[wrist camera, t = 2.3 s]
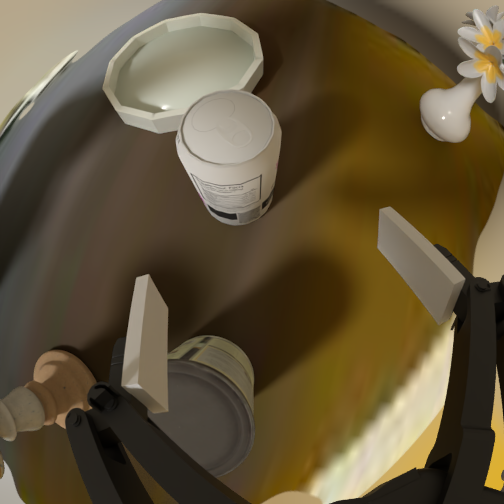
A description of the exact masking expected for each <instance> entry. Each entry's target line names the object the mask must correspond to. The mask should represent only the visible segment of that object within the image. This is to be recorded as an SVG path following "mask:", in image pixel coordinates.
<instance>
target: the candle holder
mask: <svg viewBox="0 0 504 504" xmlns="http://www.w3.org/2000/svg"><path fill="white" fill-rule="evenodd" d="M96 383H97V382H96V380H95V378H94V376H93V374H92V373H91V371H90V370H89V369H88V367H87V366H86V365H85V364H84V363H83V362H82V361H81V360H80V359H79V358H77V357H76V356H74V355H73V354H71V353H69V352H67V351H63V350H50V351H48V352H46V353H44V354H43V355H42V356H41V357H40V358H39V359H38V361H37V363H36V366H35V370H34V381H30V382H28V383H27V384H26V385H25V387H16V388H14V389H13V390H12V391H11V392H10V393H9V394H8V395H7V396H6V397H5V398H3V399H1V400H0V438H3V439H5V440H7V441H13V440H14V439H15V438H16V435H17V432H21V431H36V430H39V429H41V428H42V426H43V425H51V424H53V423H55V422H56V423H57V424H59V425H60V426H62V427H63V428H65V429H66V427H65V418H66V415H67V414H68V412H69V411H70V410H71V409H73V408H81V409H82V410H84V411H87V410H90V409H92V407H91V406H90V405H89V404H88V401H87V394H88V392H89V389H90V388H91V387H92V386H93V385H94V384H96ZM3 474H4V462H3V457H2V454H1V451H0V479H1V478H2V477H3Z"/></svg>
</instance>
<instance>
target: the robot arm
mask: <svg viewBox="0 0 504 504" xmlns="http://www.w3.org/2000/svg"><path fill="white" fill-rule="evenodd" d="M377 248H378V249H379V250H380V251H381V253H382V254H383V255H384V256H385V257H386V259H387V260H388V261H389V262H390V263H391V264H392V266H393V267H394V268H395V269H396V270H397V272H398V273H399V274H400V275H401V277H402V278H403V279H404V280H405V282H406V283H407V284H408V285H409V287H410V288H411V289H412V290H413V292H414V293H415V294H416V295H417V297H418V298H419V299H420V301H421V302H422V303H423V305H424V306H425V307H426V309H427V310H428V311H429V313H430V314H431V315H432V317H433V318H434V319H435V321H436V322H437V323H438V325H440V324H442V323H444V322H446V321H447V320H449V319H450V317H451V315H452V313H453V311H454V313H455V314H456V315H457V316H456V318H455V320H454V323H453V325H452V327H451V330H453V328H454V326H455V329H454V342H453V353H452V361H451V369H450V376H449V383H448V389H447V394H446V400H445V405H444V410H443V415H442V419H441V423H440V428H439V432H438V435H437V439H436V442H435V445H434V447H433V449H432V450H431V452H430V454H429V456H428V459H427V462H426V464H425V467H424V468H423V469H416V468H414V469H412V470H410V471H408V472H406V473H404V474H402V475H400V476H398V477H396V478H394V479H392V480H390V481H388V482H385V483H383V484H381V485H379V486H378V487H376V488H375V489H373V490H372V491H371V492H369V493H368V494H366V495H365V496H363V497H362V498H355V499H348V500H340V501H336V502H333V503H330V504H504V486H503V488H502V490H501V491H499V490H496V489H492V488H489V487H486V486H484V485H485V481H486V477H487V474H488V470H489V466H490V461H491V457H492V452H493V447H494V442H495V432H494V431H493V430H492V429H491V420H492V413H493V403H494V393H495V380H496V365H497V371H498V377H499V383H500V390H501V398H502V408H503V419H504V275H503V276H502V278H501V280H500V282H493V283H489V281H487V280H486V279H484V278H481V277H476V278H475V277H474V276H473V275H472V274H471V273H470V272H469V271H468V270H467V269H466V268H465V267H464V266H463V265H462V264H461V263H460V262H459V261H457V259H456V258H455V257H454V256H452V254H451V253H450V252H449V251H448V250H447V249H446V248H444V247H442V246H441V245H439V244H435V245H432V244H431V243H430V242H429V241H428V240H427V239H426V238H425V237H424V236H423V235H422V234H421V233H419V232H418V231H417V230H416V229H415V228H414V227H413V226H412V225H411V224H410V223H409V222H407V221H406V220H405V219H404V218H403V217H402V216H401V215H400V214H398V213H397V212H396V211H395V210H394V209H393V208H391V207H386V208H382V209H379V231H378V247H377ZM167 338H168V307H167V306H166V304H165V302H164V300H163V299H162V297H161V295H160V293H159V292H158V290H157V288H156V286H155V284H154V283H153V281H152V279H151V277H150V275H149V274H147V275H144V276H140V277H137V278H136V282H135V288H134V293H133V299H132V305H131V311H130V317H129V324H128V331H127V337H123V338H118V339H117V341H116V343H115V345H114V347H113V353H112V360H111V367H110V375H109V383H107V382H103V381H101V382H97V383H96V384H94V385H93V386H92V387H91V388H90V389H89V392H88V394H87V401H88V404H89V405H90V406H91V407H92V409H90V410H87V411H84V410H82V409H81V408H73V409H71V410H70V411H69V412H68V414H67V415H66V418H65V427H66V430H67V434H68V437H69V441H70V444H71V447H72V450H73V453H74V456H75V459H76V462H77V465H78V468H79V471H80V473H81V476H82V479H83V481H84V484H85V486H86V488H87V491H88V493H89V496H90V498H91V500H92V502H93V504H154V503H153V501H152V500H151V498H150V496H149V495H148V493H147V491H146V489H145V488H144V486H143V484H142V482H141V481H140V479H139V477H138V475H137V473H136V471H135V469H134V467H133V466H132V464H131V462H130V460H129V458H128V456H127V454H126V451H125V449H124V447H123V445H122V443H123V444H124V445H125V447H126V448H127V449H128V450H129V451H130V453H131V454H132V455H133V456H134V457H135V458H136V460H137V461H138V462H139V463H140V464H141V465H142V466H143V468H144V469H145V470H146V471H147V472H148V473H149V474H150V475H151V476H152V477H153V478H154V479H155V480H156V481H157V483H158V484H159V485H160V486H161V487H162V488H163V489H164V490H165V491H166V492H167V493H168V494H170V495H171V496H172V497H173V498H174V499H175V500H176V501H177V502H178V503H179V504H251V503H249V502H248V501H247V500H245V499H244V498H242V497H241V496H239V495H238V494H237V493H235V492H234V491H232V490H231V489H230V488H228V487H227V486H226V485H224V484H223V483H222V482H220V481H219V480H218V479H217V478H215V477H214V476H213V475H212V474H210V473H209V472H208V471H207V470H205V469H204V468H203V467H202V466H201V465H199V464H198V463H197V462H196V461H195V460H194V459H192V458H191V457H190V456H189V455H188V454H187V453H186V452H185V451H183V450H182V449H181V448H180V447H179V446H178V445H177V444H176V443H175V442H174V441H173V440H172V439H171V438H169V437H168V436H167V435H166V434H165V433H164V432H163V431H162V430H161V429H160V428H159V427H158V426H157V425H156V424H155V423H154V422H153V420H152V419H151V418H149V417H148V409H149V410H150V411H151V412H152V413H161V412H168V378H167ZM121 442H122V443H121ZM501 478H502V480H503V481H504V470H503V472H502V475H501Z"/></svg>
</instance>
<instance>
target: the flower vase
mask: <svg viewBox="0 0 504 504" xmlns="http://www.w3.org/2000/svg"><path fill="white" fill-rule="evenodd" d="M498 9H499V7H498V6H492V7H491V8H489V9H488V10H487V12H486V15H485V14H484V13H483V12H482V11H480V10H479V9H474V10H473V12H467V13H466V16H467V17H469V18H470V19H472V20H474V21H472V20H468V21H464V22H462V23H464V24H470V25H474V26H477V28H478V29H479V31H480V32H479V31H478V30H477V29H475V28H472V27H462V28H460V29H458V34H459V35H460V36H461V37H460V38H458V43H459V45H460V47H461V48H462V50H463V51H464V52H465V53H466V54H467V55H468V56H469V57H471V58H474V59H473V60H469V61H464V62H462V63H460V64H459V65H458V66H457V71H458V73H459V74H460V75H462V76H464V77H465V78H464V79H463V80H462V81H461V82H460V83H459V84H458V85H456V86H455V87H453V88H450V89H440V88H435V89H431V90H428V91H427V92H425V93H424V94H423V95H422V97H421V99H420V112H421V121H422V124H423V126H424V128H425V129H426V131H427V132H428V133H429V134H430V135H431V136H432V137H433V138H435V139H437V140H439V141H447V142H451V143H459V142H461V141H463V140H465V139H466V137H467V136H468V134H469V132H470V128H471V119H470V111H471V108H472V106H473V104H474V102H475V101H476V99H477V98H478V97H479V96H480V95H481V93H483V96H484V98H485V99H486V101H487V102H489V103H492V102H493V101H494V100H495V96H496V86H497V82H498V85H499V86H500V87H501V88H502V89H503V90H504V20H501V18H502V17H503V15H504V12H501V13H499V14H498V15H497V13H498ZM462 37H463V38H462ZM468 40H471V41H474V42H477V43H479V44H478V45H477V46H475V45H474V44H472V43H471V42H470V41H468Z"/></svg>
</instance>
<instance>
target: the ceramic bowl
mask: <svg viewBox="0 0 504 504" xmlns="http://www.w3.org/2000/svg"><path fill="white" fill-rule="evenodd" d="M262 75H263V54H262V50H261V45H260V40H259V36H258V33H256V32H255V31H253V30H252V29H250V28H249V27H248V26H246V25H245V24H243V23H242V22H240V21H239V20H237V19H236V18H233V17H227V16H220V15H213V14H205V13H198V14H192V15H187V16H181V17H176V18H171V19H167V20H164V21H162V22H160V23H158V24H156V25H154V26H152V27H150V28H148V29H146V30H144V31H142V32H140V33H139V34H137V35H135V36H133V37H132V38H131V39H130V40H129V41H128V42H127V43H126V44H125V45H124V46H123V47H122V48H121V49H120V50H119V52H118V53H117V54H116V55H115V56H114V57H113V58H112V59H111V60H110V62H109V65H108V69H107V73H106V76H105V80H104V84H103V88H102V89H103V90H104V92H105V94H106V95H107V97H108V99H109V100H110V102H111V104H112V105H113V107H114V108H115V110H116V112H117V113H118V114H119V116H120V117H121V119H122V120H123V121H124V123H125V124H129V125H132V126H136V127H139V128H142V129H146V130H149V131H152V132H156V133H159V134H160V133H165V132H171V131H176V130H179V126H180V124H181V120H182V116H183V115H184V113H185V112H186V111H187V109H188V108H189V107H190V105H191V104H193V103H194V102H195V101H197V100H198V99H199V98H201V97H202V96H204V95H207V94H209V93H212V92H215V91H218V90H229V89H235V90H241V91H246V92H249V93H251V92H252V91H253V89H254V88H255V86H256V85H257V83H258V81H259V80H260V78H261V77H262Z"/></svg>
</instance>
